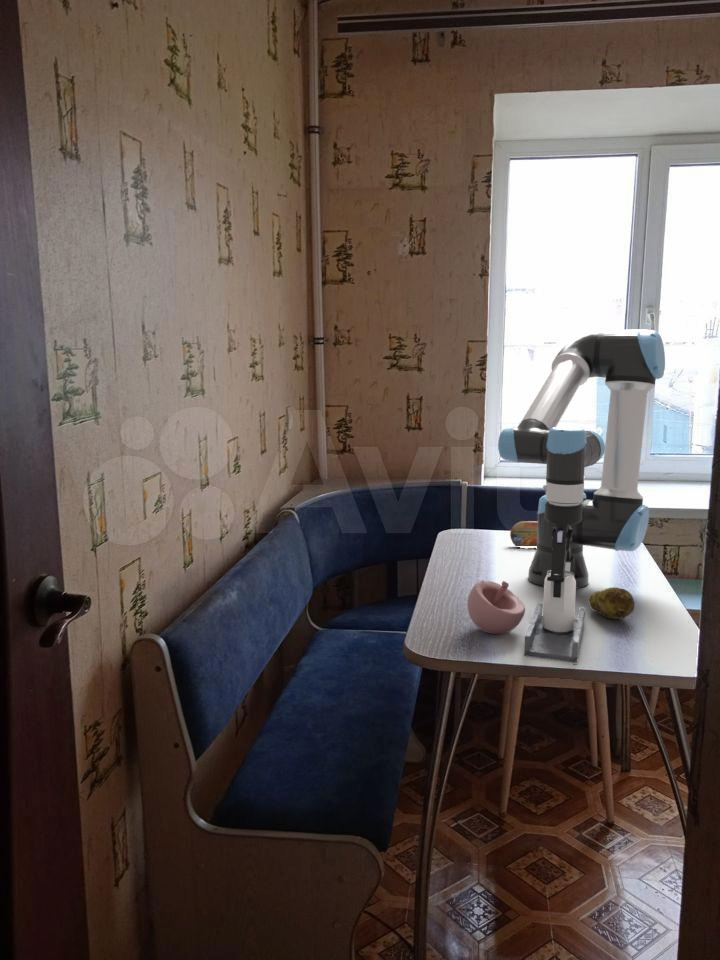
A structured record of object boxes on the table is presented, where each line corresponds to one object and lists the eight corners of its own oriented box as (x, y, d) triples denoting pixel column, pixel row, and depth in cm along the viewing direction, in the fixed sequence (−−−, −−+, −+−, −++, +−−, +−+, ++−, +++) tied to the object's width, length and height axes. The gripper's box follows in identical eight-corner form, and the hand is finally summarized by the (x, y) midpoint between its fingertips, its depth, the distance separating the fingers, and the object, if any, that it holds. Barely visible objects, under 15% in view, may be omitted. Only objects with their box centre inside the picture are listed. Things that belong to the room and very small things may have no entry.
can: (571, 635, 158) (574, 579, 156) (540, 631, 160) (542, 575, 158) (575, 625, 164) (578, 571, 162) (544, 621, 166) (547, 567, 164)
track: (537, 619, 170) (538, 602, 170) (584, 624, 167) (585, 607, 166) (524, 655, 150) (524, 636, 149) (576, 662, 146) (577, 642, 146)
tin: (510, 548, 232) (511, 521, 231) (508, 546, 235) (509, 519, 234) (560, 549, 232) (561, 522, 230) (558, 547, 235) (559, 520, 233)
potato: (623, 610, 177) (625, 576, 175) (636, 630, 164) (639, 594, 163) (586, 608, 178) (588, 575, 176) (597, 628, 165) (599, 592, 164)
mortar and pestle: (513, 646, 154) (515, 592, 152) (458, 635, 160) (459, 583, 158) (531, 628, 165) (533, 577, 163) (478, 618, 170) (479, 569, 169)
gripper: (551, 490, 170) (547, 581, 174) (538, 513, 147) (534, 618, 151) (586, 492, 168) (582, 584, 172) (578, 516, 145) (573, 623, 148)
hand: (559, 600), depth 161 cm, fingers open, 13 cm apart
